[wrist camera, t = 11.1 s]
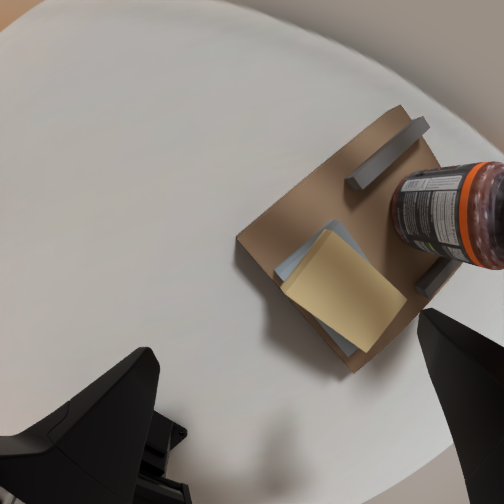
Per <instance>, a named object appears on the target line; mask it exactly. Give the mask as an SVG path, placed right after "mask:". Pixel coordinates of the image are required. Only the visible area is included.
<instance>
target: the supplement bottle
mask: <svg viewBox="0 0 504 504" xmlns="http://www.w3.org/2000/svg"><path fill="white" fill-rule="evenodd" d="M392 219H393V223H394V226H395V229H396V231H397V233H398V235H399V236H400V238H401V239H402V240H403V241H404V242H405V243H406V244H407V245H409V246H411V247H412V248H415V249H417V250H420V251H424V252H428V253H432V254H435V255H439V256H442V257H446V258H450V259H454V260H457V261H461V262H465V263H468V264H472V265H475V266H479V267H483V268H487V269H491V270H502V269H504V163H501V162H495V161H494V162H480V163H473V164H464V165H457V166H450V167H442V168H434V169H425V170H420V171H417V172H413V173H410V174H409V175H407V176H405V177H404V178H403V179H402V180H401V181H400V183H399V184H398V186H397V188H396V190H395V192H394V195H393V199H392Z"/></svg>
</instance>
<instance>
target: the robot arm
mask: <svg viewBox="0 0 504 504" xmlns="http://www.w3.org/2000/svg"><path fill="white" fill-rule="evenodd" d="M417 335H418V339H419V342H420V345H421V349H422V352H423V355H424V359H425V362H426V366H427V369H428V372H429V375H430V378H431V381H432V383H433V386H434V388H435V391H436V393H437V396H438V399H439V401H440V404H441V407H442V409H443V412H444V415H445V418H446V420H447V423H448V426H449V429H450V432H451V435H452V438H453V441H454V444H455V447H456V451H457V454H458V457H459V461H460V465H461V468H462V472H463V475H464V479H465V484H466V488H467V492H468V496H469V500H470V504H504V347H503V346H501V345H499V344H497V343H495V342H494V341H492V340H490V339H488V338H487V337H485V336H483V335H481V334H479V333H478V332H476V331H474V330H472V329H470V328H469V327H467V326H465V325H463V324H461V323H459V322H458V321H456V320H454V319H452V318H450V317H448V316H447V315H445V314H443V313H441V312H439V311H437V310H435V309H433V308H428V309H424V310H421V311H420V314H419V321H418V328H417ZM159 373H160V365H159V362H158V360H157V359H156V357H155V355H154V353H153V351H152V349H151V348H150V347H139V348H137V349H136V350H135V351H133V352H132V353H131V354H129V355H128V356H127V357H126V358H124V359H123V360H122V361H120V362H119V363H118V364H116V365H115V366H114V367H112V368H111V369H110V370H108V371H107V372H106V373H105V374H103V375H102V376H101V377H99V378H98V379H97V380H95V381H94V382H93V383H91V384H90V385H89V386H87V387H86V388H85V389H83V390H82V391H81V392H79V393H78V394H77V395H76V396H74V397H73V398H72V399H70V401H67V402H66V403H65V404H64V405H62V406H61V407H59V408H58V409H57V410H55V411H54V412H53V413H51V414H50V415H48V416H46V417H45V418H43V419H42V420H40V421H39V422H37V423H36V424H34V425H32V426H31V427H29V428H28V429H26V430H24V431H23V432H21V433H19V434H16V435H13V436H0V504H192V501H191V496H190V492H189V487H188V485H186V484H183V483H181V484H180V483H178V482H175V481H172V480H170V479H167V478H165V476H166V470H167V464H168V457H169V451H170V450H171V449H173V448H174V447H175V446H176V445H177V444H178V443H179V442H181V441H182V440H183V439H184V438H185V437H186V436H187V429H185V428H183V427H182V426H180V425H178V424H176V423H175V422H173V421H171V420H169V419H168V418H166V417H164V416H163V415H161V414H159V413H158V412H156V411H154V405H155V400H156V393H157V386H158V380H159ZM181 432H183V433H181Z"/></svg>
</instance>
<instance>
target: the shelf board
mask: <svg viewBox="0 0 504 504" xmlns="http://www.w3.org/2000/svg"><path fill="white" fill-rule="evenodd" d="M429 128H430V126H429V125H428V123H427V122H426V120H425V119H424V117H423V116H422V117H419V118H417V119H414V120H411V118H410V117H409V116H408V114H407V113H406V111H405V110H404V109H403V107H402V106H401V104H400V105H398V106H396V107H394V108H392V109H391V110H389V111H387V112H386V113H385V114H383V115H382V116H381V117H379V118H378V119H377V120H376V121H374V122H373V123H372V124H371V125H369V126H368V127H367V128H366V129H364V130H363V131H362V132H361V133H359V134H358V135H357V136H356V137H354V138H353V139H352V140H351V141H350V142H348V143H347V144H346V145H345V146H343V147H342V148H341V149H340V150H338V151H337V152H336V153H335V154H334V155H332V156H331V157H330V158H329V159H327V160H326V161H325V162H324V163H323V164H321V165H320V166H319V167H318V168H316V169H315V170H314V171H313V172H312V173H310V174H309V175H308V176H307V177H306V178H304V179H303V180H302V181H301V182H300V183H298V184H297V185H296V186H295V187H294V188H292V189H291V190H290V191H289V192H288V193H286V194H285V195H284V196H283V197H282V198H280V199H279V200H278V201H277V202H276V203H274V204H273V205H272V206H271V207H270V208H269V209H267V210H266V211H265V212H264V213H263V214H261V215H260V216H259V217H258V218H257V219H256V220H254V221H253V222H252V223H251V224H250V225H248V226H247V227H246V228H245V229H244V230H243V231H241V232H240V233H239V234H238V235H237V236H236V237H237V239H238V241H239V242H240V243H241V244H242V245H243V246H244V248H245V249H246V250H247V251H248V252H249V253H250V255H251V256H252V257H253V258H254V259H255V260H256V261H257V263H258V264H259V265H260V266H261V267H262V268H263V270H264V271H265V272H266V273H267V274H268V275H269V276H270V278H271V279H272V280H273V281H274V282H275V283H276V285H277V286H278V287H279V288H280V289H281V290H282V291H283V293H284V294H285V295H286V296H287V297H288V298H289V300H290V301H291V302H292V303H293V304H294V305H295V306H296V308H297V309H298V310H299V311H300V312H301V313H302V315H303V316H304V317H305V318H306V319H307V320H308V321H309V323H310V324H311V325H312V326H313V327H314V328H315V329H316V331H317V332H318V333H319V334H320V335H321V336H322V338H323V339H324V340H325V341H326V342H327V343H328V344H329V346H330V347H331V348H332V349H333V350H334V351H335V352H336V354H337V355H338V356H339V357H340V358H341V359H342V361H343V362H344V363H345V364H346V365H347V366H348V367H349V369H350V370H351V371H352V372H353V373H355V372H357V371H358V370H359V369H360V368H361V367H362V366H364V365H365V364H366V363H367V362H368V361H369V360H371V359H372V358H373V357H374V356H375V355H376V354H377V353H378V352H379V351H381V350H382V349H383V348H384V347H385V346H386V345H387V344H388V343H389V342H390V341H391V340H392V339H393V338H394V337H396V336H397V335H398V334H399V333H400V332H401V331H402V330H403V329H404V328H405V327H406V326H407V325H408V324H409V323H410V322H411V321H412V320H413V319H414V318H415V317H416V316H417V315H418V313H419V312H420V311H421V310H422V309H423V308H424V307H425V306H426V305H427V304H428V303H429V302H430V301H431V300H432V298H433V297H434V296H435V295H436V294H437V293H438V292H439V291H440V289H441V288H442V287H443V286H444V285H445V284H446V282H447V281H448V280H449V279H450V278H451V277H452V275H453V274H454V273H455V272H456V270H457V269H458V268H459V267H460V266H461V264H462V263H463V262H461V261H457V260H454V259H450V258H446V257H442V256H439V255H435V254H432V253H428V252H424V251H420V250H417V249H415V248H412V247H411V246H409V245H407V244H406V243H405V242H404V241H403V240H402V239H401V238H400V236H399V235H398V233H397V231H396V229H395V226H394V223H393V219H392V199H393V195H394V192H395V190H396V188H397V186H398V184H399V183H400V181H401V180H402V179H403V178H404V177H405V176H407V175H409V174H410V173H413V172H417V171H420V170H425V169H434V168H441V166H440V165H439V163H438V161H437V159H436V158H435V156H434V154H433V153H432V151H431V149H430V148H429V146H428V144H427V143H426V141H425V140H424V138H423V137H422V135H423V134H424V133H425V132H426V131H427V130H428V129H429Z"/></svg>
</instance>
